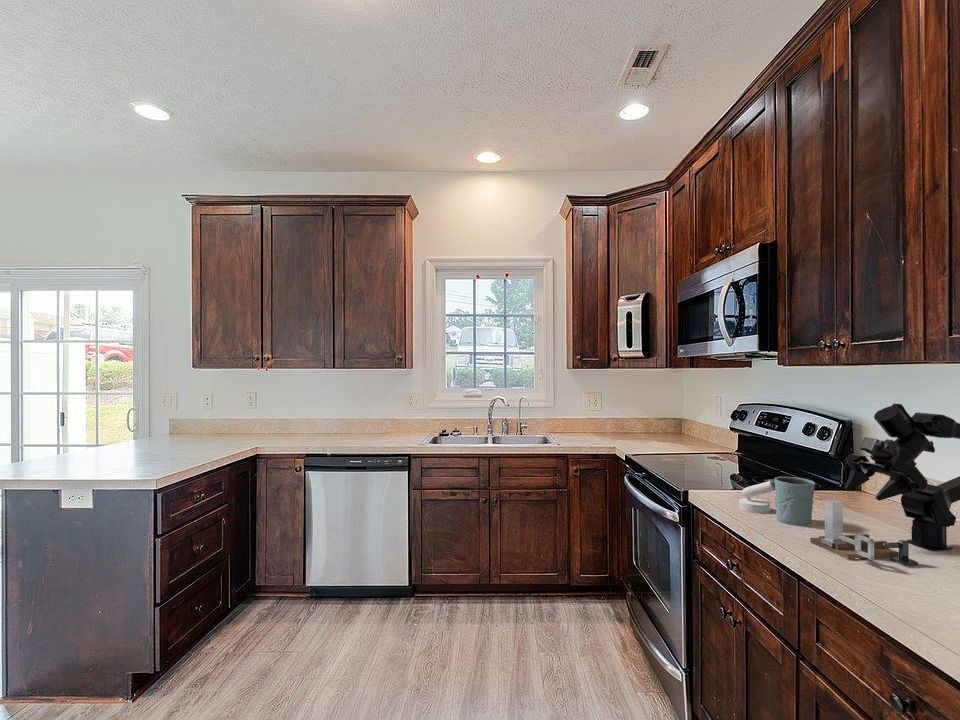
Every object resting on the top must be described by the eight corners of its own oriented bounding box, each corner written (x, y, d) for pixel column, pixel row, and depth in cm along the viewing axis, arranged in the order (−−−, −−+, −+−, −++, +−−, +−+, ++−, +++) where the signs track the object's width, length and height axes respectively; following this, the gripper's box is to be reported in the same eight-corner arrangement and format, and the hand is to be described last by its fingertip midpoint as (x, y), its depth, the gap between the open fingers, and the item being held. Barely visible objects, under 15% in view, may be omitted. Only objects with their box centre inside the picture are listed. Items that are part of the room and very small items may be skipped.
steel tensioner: (835, 541, 132) (835, 499, 132) (880, 560, 119) (880, 513, 119) (820, 542, 132) (820, 499, 132) (864, 561, 119) (864, 514, 119)
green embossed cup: (776, 514, 161) (776, 475, 161) (816, 520, 155) (816, 479, 155) (772, 523, 153) (772, 481, 153) (814, 529, 147) (813, 485, 147)
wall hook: (771, 484, 160) (735, 479, 166) (771, 515, 160) (735, 510, 166) (777, 479, 167) (742, 474, 173) (777, 509, 167) (742, 504, 173)
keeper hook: (903, 559, 124) (903, 538, 124) (918, 564, 121) (917, 543, 121) (876, 560, 124) (876, 539, 124) (890, 566, 120) (889, 544, 120)
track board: (856, 540, 137) (856, 530, 137) (898, 557, 125) (898, 546, 125) (810, 542, 136) (810, 532, 136) (847, 559, 124) (847, 548, 124)
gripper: (853, 423, 141) (813, 463, 140) (918, 432, 123) (873, 478, 121) (878, 453, 142) (839, 494, 141) (947, 467, 123) (902, 514, 122)
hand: (861, 494), depth 131 cm, fingers open, 9 cm apart
